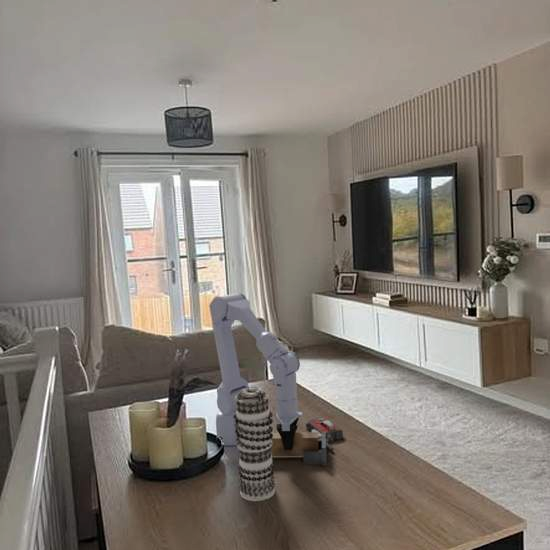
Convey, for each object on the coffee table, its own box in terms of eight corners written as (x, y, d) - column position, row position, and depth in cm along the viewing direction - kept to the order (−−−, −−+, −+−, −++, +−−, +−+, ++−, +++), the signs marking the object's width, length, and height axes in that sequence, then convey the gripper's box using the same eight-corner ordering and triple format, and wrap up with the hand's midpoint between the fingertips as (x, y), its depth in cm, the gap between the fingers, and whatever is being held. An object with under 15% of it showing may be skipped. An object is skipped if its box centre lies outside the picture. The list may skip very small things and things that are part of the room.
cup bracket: (303, 466, 135) (302, 447, 134) (304, 449, 144) (304, 432, 144) (326, 466, 134) (325, 447, 134) (326, 449, 144) (325, 432, 143)
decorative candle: (272, 503, 117) (266, 397, 115) (233, 500, 119) (227, 396, 117) (280, 483, 126) (274, 384, 124) (244, 481, 128) (238, 384, 126)
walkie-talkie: (299, 430, 160) (329, 455, 141) (299, 416, 159) (328, 440, 141) (325, 424, 163) (357, 448, 144) (324, 411, 162) (356, 433, 144)
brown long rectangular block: (259, 456, 139) (258, 438, 138) (261, 450, 142) (260, 433, 142) (318, 455, 137) (317, 437, 137) (318, 449, 141) (318, 432, 140)
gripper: (300, 406, 131) (302, 458, 132) (302, 389, 145) (304, 435, 146) (272, 407, 131) (275, 458, 133) (277, 389, 146) (280, 435, 147)
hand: (289, 446), depth 140 cm, fingers closed on brown long rectangular block, 4 cm apart
